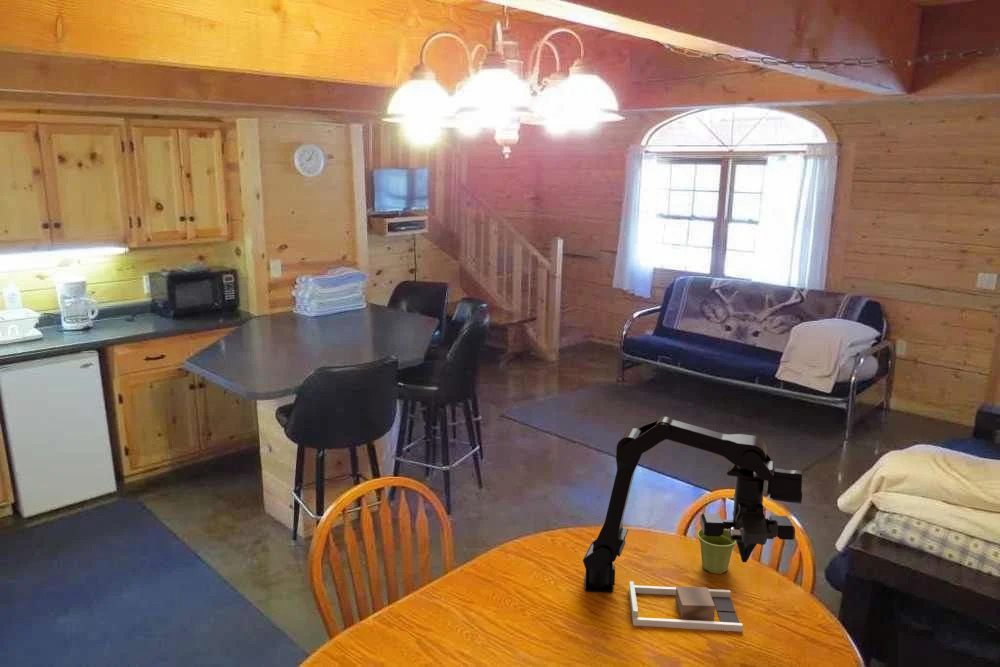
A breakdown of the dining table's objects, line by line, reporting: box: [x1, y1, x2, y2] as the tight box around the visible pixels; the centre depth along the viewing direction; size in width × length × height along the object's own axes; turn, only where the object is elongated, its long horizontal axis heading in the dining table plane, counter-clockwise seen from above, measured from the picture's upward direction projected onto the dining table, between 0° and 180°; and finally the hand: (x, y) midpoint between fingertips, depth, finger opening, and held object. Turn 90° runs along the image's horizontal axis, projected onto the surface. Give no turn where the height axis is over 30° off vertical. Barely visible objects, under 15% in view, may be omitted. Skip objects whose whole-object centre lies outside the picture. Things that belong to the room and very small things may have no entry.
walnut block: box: [675, 586, 716, 622], centre depth 155 cm, size 7×7×4 cm
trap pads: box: [712, 597, 740, 623], centre depth 154 cm, size 4×11×1 cm, turn 174°
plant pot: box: [696, 528, 737, 575], centre depth 171 cm, size 9×9×9 cm
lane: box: [628, 581, 744, 633], centre depth 155 cm, size 23×13×3 cm, turn 84°
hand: (743, 561), depth 151 cm, fingers closed
